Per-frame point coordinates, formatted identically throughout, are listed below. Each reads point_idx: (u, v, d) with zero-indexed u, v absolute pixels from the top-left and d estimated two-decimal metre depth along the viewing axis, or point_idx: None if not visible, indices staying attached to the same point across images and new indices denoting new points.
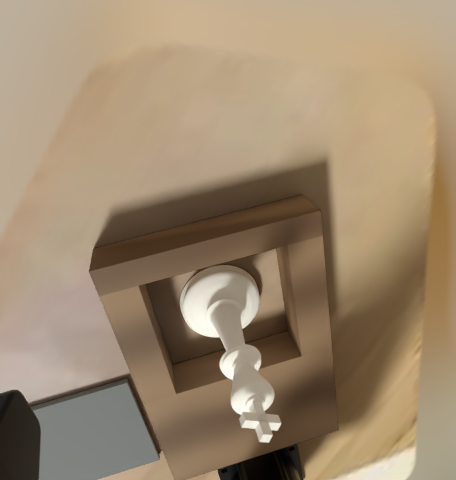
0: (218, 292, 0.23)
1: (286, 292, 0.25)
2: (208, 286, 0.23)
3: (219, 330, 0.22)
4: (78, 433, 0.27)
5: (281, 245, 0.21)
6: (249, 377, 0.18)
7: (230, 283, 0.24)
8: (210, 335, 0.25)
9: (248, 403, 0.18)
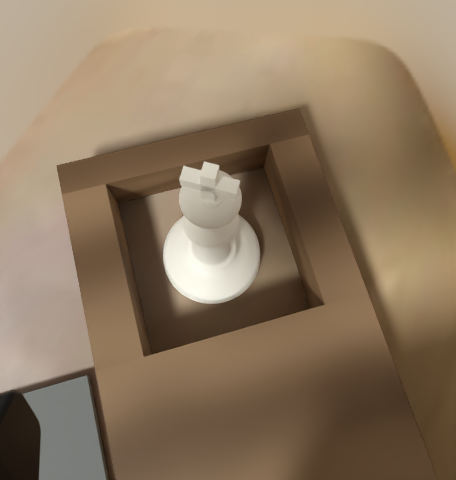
0: None
1: (290, 232, 0.20)
2: None
3: None
4: None
5: (263, 143, 0.20)
6: None
7: None
8: (199, 293, 0.19)
9: None
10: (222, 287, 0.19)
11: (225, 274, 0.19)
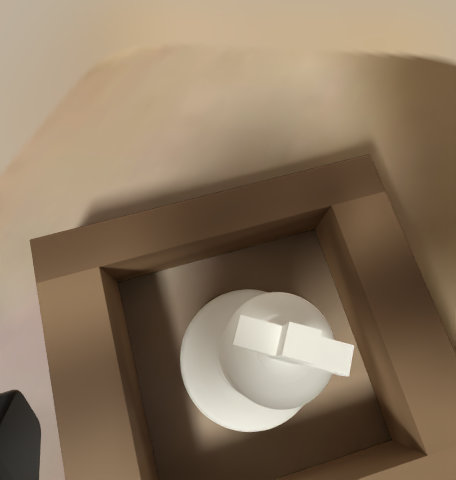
0: None
1: (360, 328, 0.14)
2: (220, 309, 0.14)
3: None
4: None
5: (322, 205, 0.14)
6: None
7: None
8: (233, 421, 0.13)
9: None
10: (266, 413, 0.13)
11: None
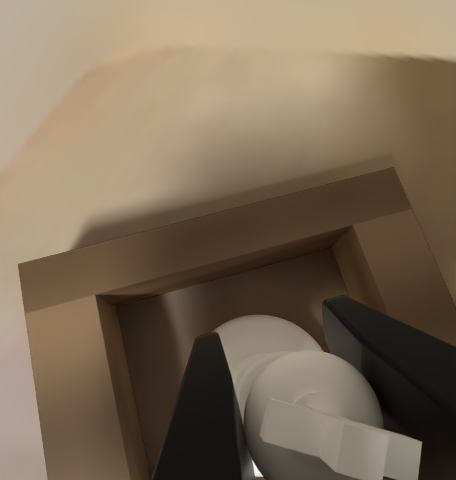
0: (249, 348, 0.13)
1: None
2: (230, 338, 0.13)
3: None
4: None
5: (342, 224, 0.12)
6: None
7: (270, 333, 0.13)
8: None
9: None
10: None
11: None
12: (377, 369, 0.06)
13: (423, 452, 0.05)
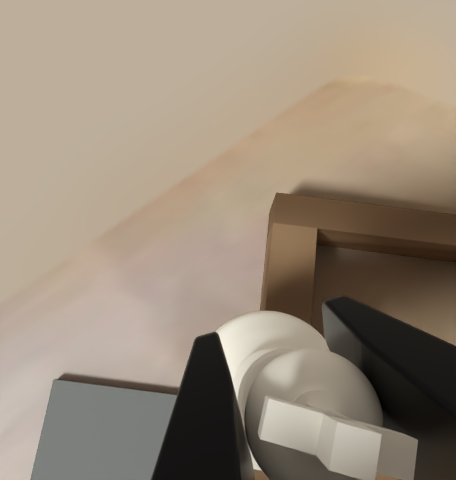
0: (256, 344, 0.13)
1: None
2: (236, 335, 0.13)
3: None
4: (124, 465, 0.17)
5: None
6: None
7: (277, 329, 0.13)
8: (252, 460, 0.12)
9: None
10: None
11: None
12: (378, 369, 0.06)
13: (424, 452, 0.05)
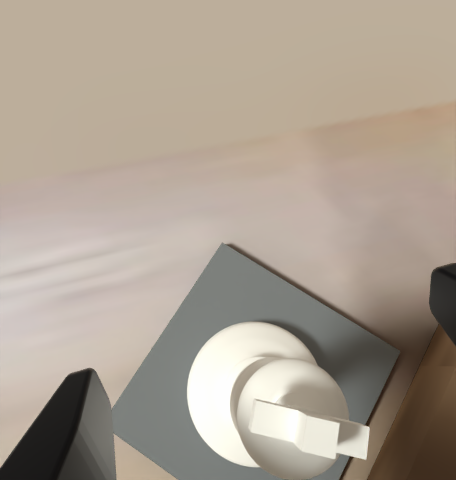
0: (243, 353, 0.14)
1: None
2: (226, 345, 0.14)
3: None
4: None
5: None
6: None
7: (262, 339, 0.14)
8: (243, 458, 0.13)
9: None
10: None
11: None
12: None
13: None
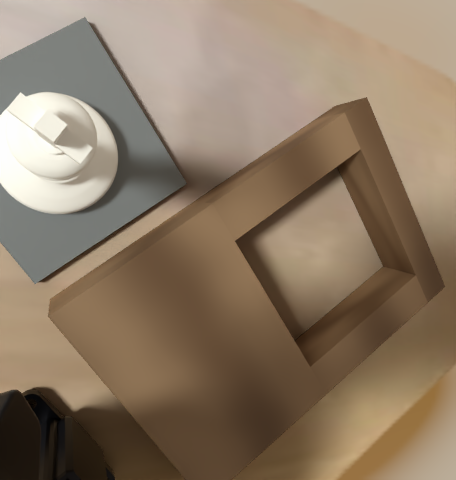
0: None
1: (345, 312, 0.23)
2: None
3: None
4: None
5: (415, 269, 0.23)
6: None
7: None
8: (22, 195, 0.16)
9: None
10: (53, 200, 0.16)
11: (61, 188, 0.16)
12: None
13: None
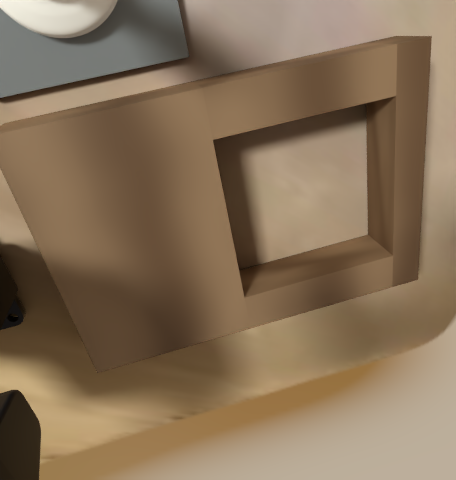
0: None
1: (305, 262, 0.22)
2: None
3: None
4: None
5: (394, 250, 0.21)
6: None
7: None
8: None
9: None
10: (27, 11, 0.14)
11: (39, 0, 0.14)
12: None
13: None
